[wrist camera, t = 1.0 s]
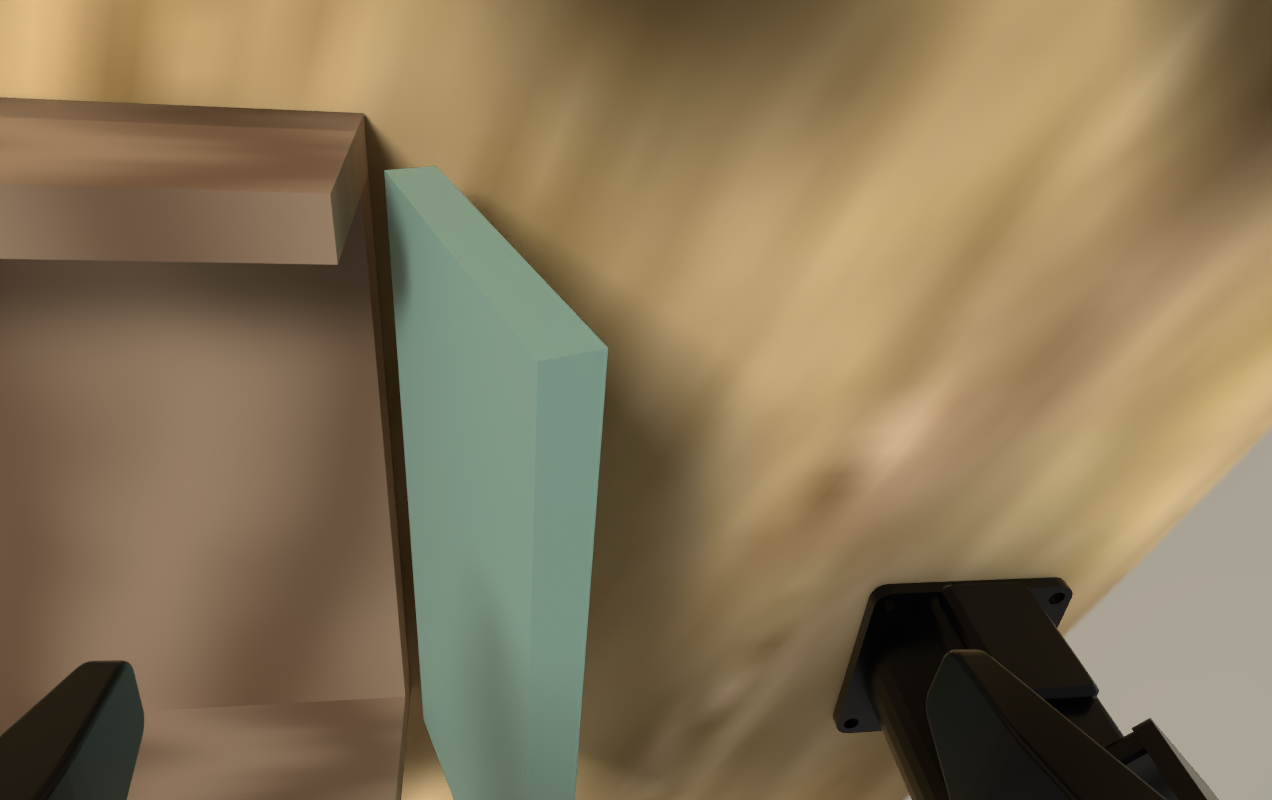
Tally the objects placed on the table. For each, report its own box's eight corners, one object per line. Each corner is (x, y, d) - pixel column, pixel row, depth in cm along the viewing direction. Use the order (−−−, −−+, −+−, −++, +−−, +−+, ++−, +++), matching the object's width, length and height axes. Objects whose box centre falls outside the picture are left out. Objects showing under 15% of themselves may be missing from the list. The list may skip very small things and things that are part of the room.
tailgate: (423, 719, 25) (521, 977, 20) (383, 170, 17) (537, 360, 11) (457, 707, 26) (562, 957, 20) (436, 165, 17) (608, 348, 12)
